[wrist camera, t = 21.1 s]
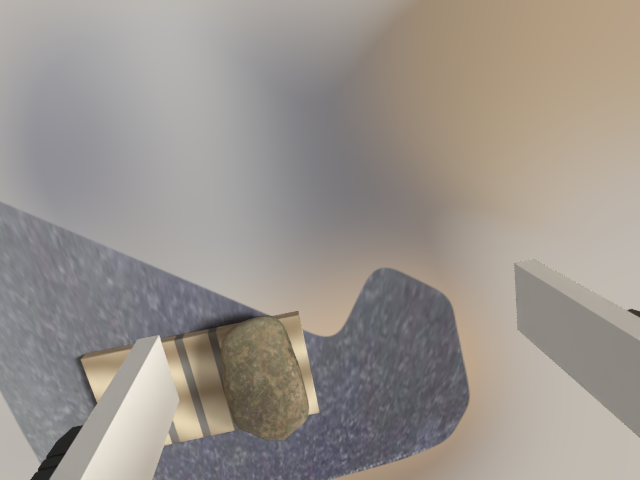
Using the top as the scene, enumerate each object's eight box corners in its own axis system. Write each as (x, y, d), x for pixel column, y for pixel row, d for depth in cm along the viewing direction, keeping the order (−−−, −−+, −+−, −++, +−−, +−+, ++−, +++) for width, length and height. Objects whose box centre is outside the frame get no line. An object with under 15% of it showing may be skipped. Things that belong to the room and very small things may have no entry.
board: (84, 354, 52) (80, 359, 51) (298, 310, 53) (298, 315, 52) (120, 448, 56) (117, 455, 55) (318, 406, 57) (319, 412, 56)
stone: (249, 438, 55) (224, 462, 45) (232, 326, 58) (205, 326, 48) (316, 425, 54) (306, 447, 44) (296, 313, 57) (282, 310, 47)
